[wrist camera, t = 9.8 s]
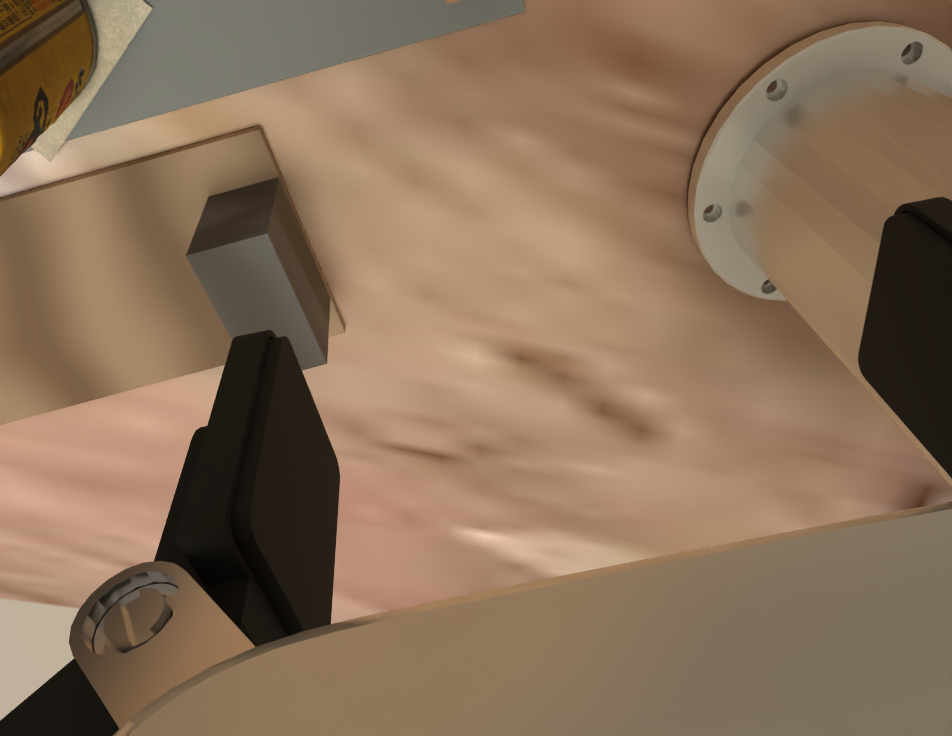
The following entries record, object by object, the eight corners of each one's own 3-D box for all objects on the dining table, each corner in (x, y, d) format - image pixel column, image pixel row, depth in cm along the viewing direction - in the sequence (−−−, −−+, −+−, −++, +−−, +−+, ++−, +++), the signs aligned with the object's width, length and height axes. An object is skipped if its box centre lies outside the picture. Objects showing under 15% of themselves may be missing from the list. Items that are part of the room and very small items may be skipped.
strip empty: (260, 125, 28) (243, 181, 24) (345, 326, 35) (343, 399, 30) (-307, 283, 29) (-422, 365, 25) (-126, 452, 35) (-193, 541, 31)
